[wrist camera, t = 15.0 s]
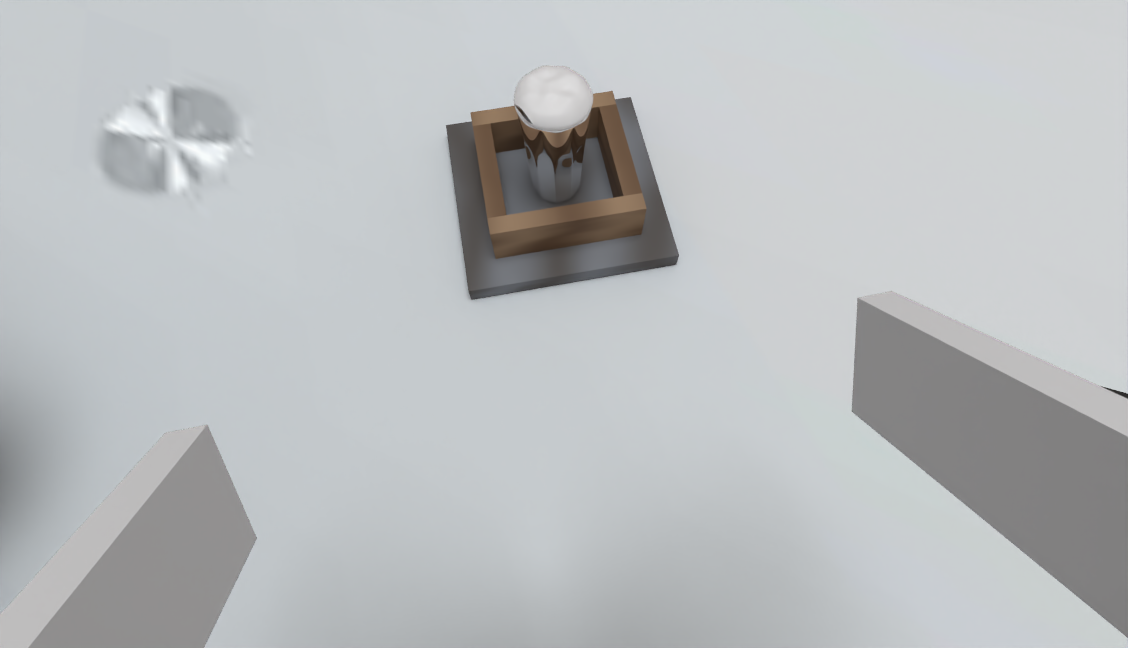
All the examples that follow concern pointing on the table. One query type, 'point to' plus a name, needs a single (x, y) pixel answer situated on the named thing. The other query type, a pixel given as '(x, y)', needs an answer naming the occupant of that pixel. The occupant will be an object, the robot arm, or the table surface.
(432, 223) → the table surface
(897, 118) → the table surface
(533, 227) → the socket board
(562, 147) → the milkshake
